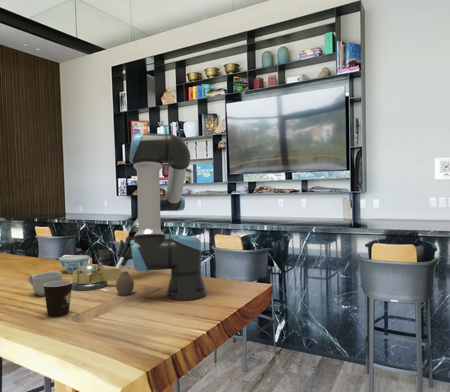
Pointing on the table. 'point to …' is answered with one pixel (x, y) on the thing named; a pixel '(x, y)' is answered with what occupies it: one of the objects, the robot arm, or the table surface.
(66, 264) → the chinaware
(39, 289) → the teacup
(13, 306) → the table surface
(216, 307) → the table surface
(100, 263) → the pocket watch
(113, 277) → the tan piece
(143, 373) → the table surface
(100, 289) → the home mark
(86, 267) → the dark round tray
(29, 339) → the table surface
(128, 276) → the vase
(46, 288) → the coffee mug
